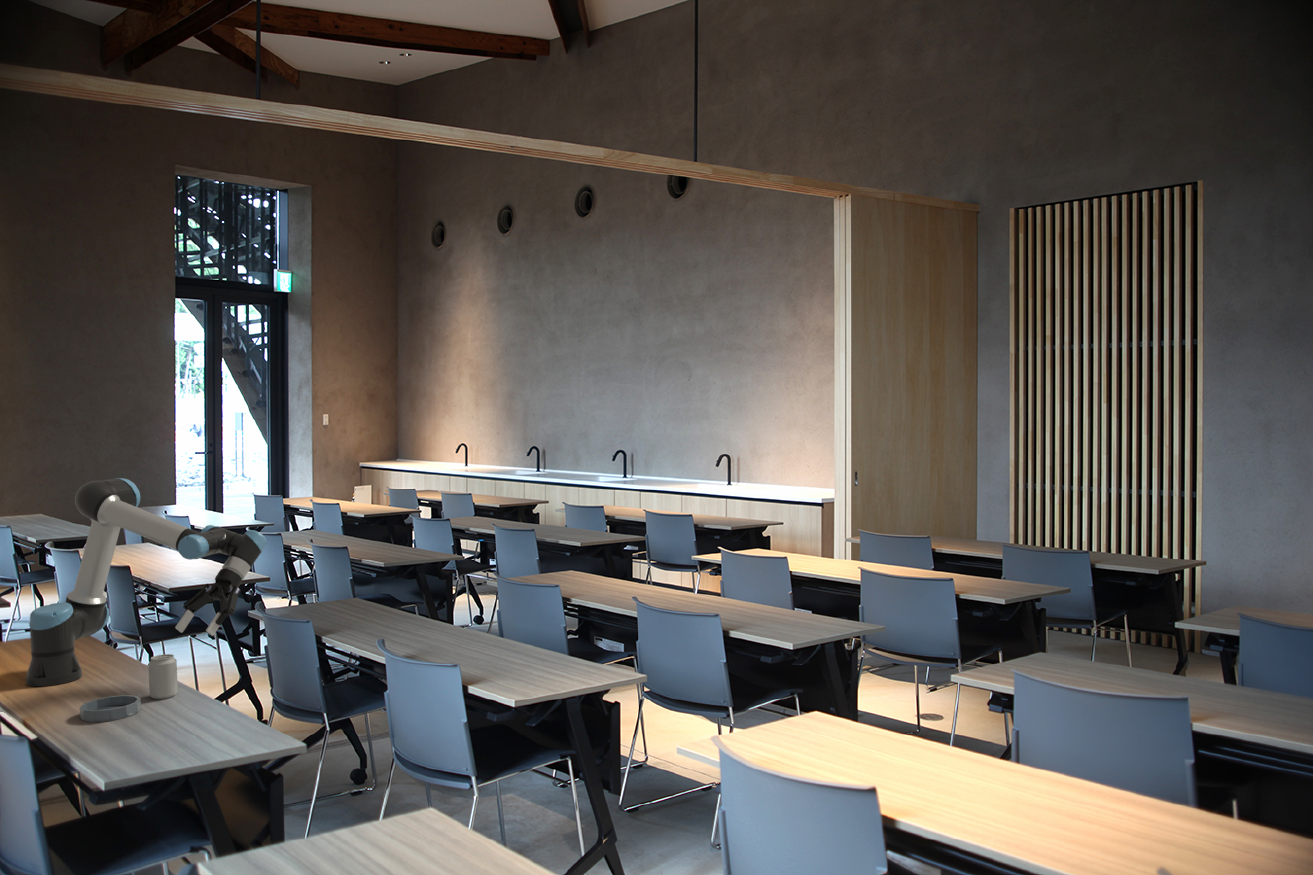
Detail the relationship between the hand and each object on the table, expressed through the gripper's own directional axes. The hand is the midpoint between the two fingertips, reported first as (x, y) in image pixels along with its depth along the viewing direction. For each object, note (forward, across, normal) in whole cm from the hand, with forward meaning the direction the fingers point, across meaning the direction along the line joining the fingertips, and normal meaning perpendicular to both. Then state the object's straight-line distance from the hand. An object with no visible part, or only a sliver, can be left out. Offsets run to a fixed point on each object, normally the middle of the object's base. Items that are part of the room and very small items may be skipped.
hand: (193, 631), depth 301 cm
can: (+20, 0, -4) cm, 20 cm away
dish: (+32, -1, +8) cm, 33 cm away
